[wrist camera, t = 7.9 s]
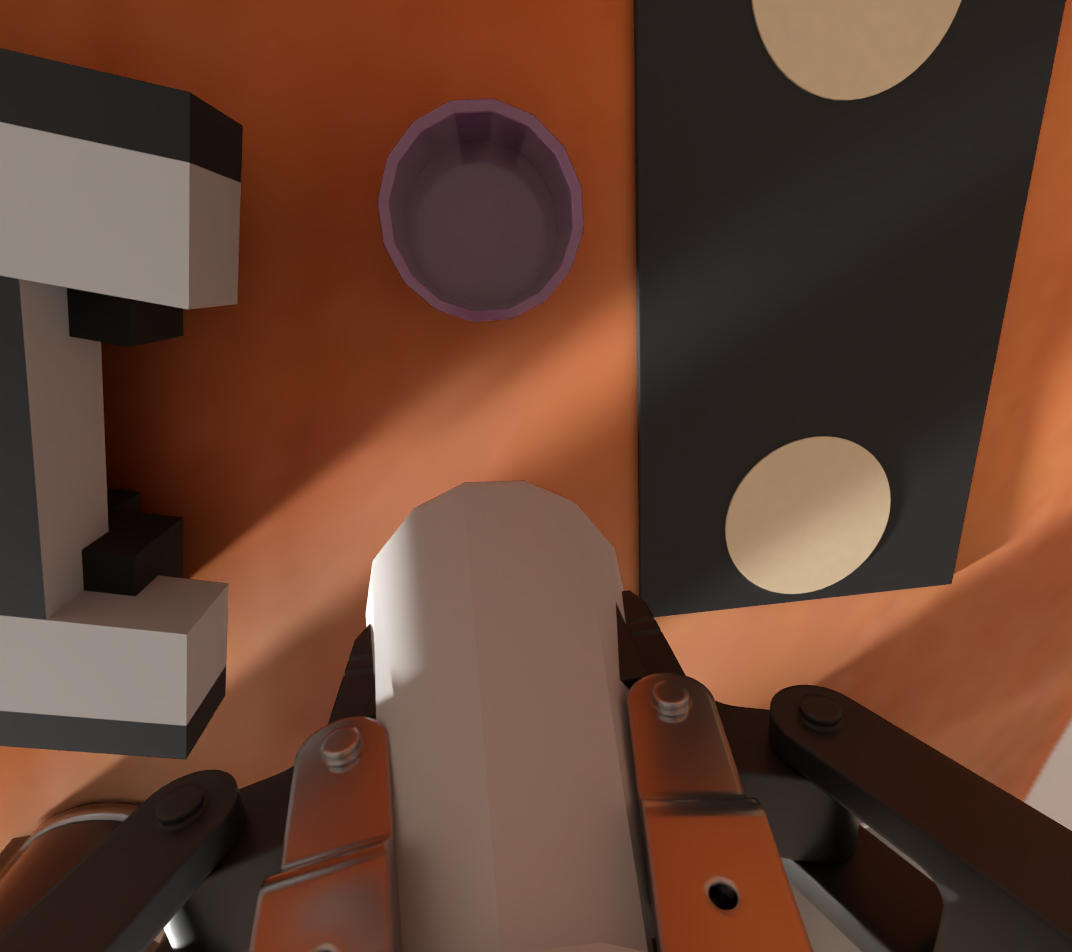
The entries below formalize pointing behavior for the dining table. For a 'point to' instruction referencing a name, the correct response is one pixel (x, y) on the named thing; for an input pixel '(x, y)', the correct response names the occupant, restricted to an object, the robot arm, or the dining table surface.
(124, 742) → the game console
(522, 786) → the salt shaker
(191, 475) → the dining table surface
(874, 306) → the placemat
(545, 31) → the dining table surface
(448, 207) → the purple cup
